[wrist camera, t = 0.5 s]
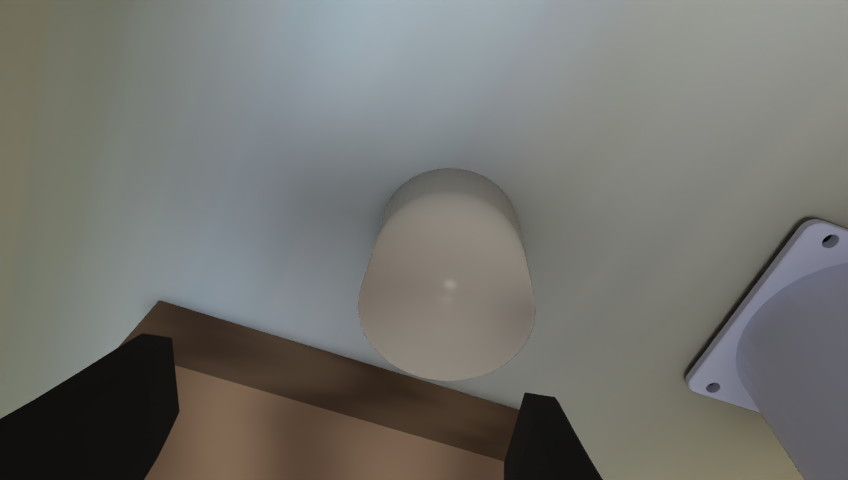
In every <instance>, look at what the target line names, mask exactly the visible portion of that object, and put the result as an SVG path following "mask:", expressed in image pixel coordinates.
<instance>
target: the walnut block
mask: <svg viewBox="0 0 848 480" xmlns="http://www.w3.org/2000/svg"><path fill="white" fill-rule="evenodd" d="M142 333H145V334H151V335H158V336H164V337H170V338H172V343H173V352H174V362H175V372H176V381H177V391H178V401H179V410H180V412H179V414H178V416H177V418H176V421H175V423H174V425H173V427H172V429H171V431H170V434H169V436H168V438H167V440H166V442H165V444H164V446H163V448H162V450H161V452H160V454H159V456H158V458H157V460H156V461H155V463H154V465H153V466H152V468H151V470H150V471H149V473H148V474H147V476H146V477H145V479H144V480H504V461H505V457H506V454H507V451H508V447H509V444H510V441H511V437H512V434H513V431H514V427H515V424H516V421H517V417H518V414H519V411H520V410H517V409H514V408H511V407H507V406H504V405H501V404H498V403H494V402H491V401H488V400H485V399H481V398H478V397H475V396H471V395H468V394H465V393H462V392H458V391H455V390H452V389H448V388H445V387H442V386H439V385H435V384H432V383H429V382H425V381H422V380H419V379H416V378H412V377H409V376H406V375H402V374H399V373H396V372H393V371H389V370H386V369H383V368H379V367H376V366H373V365H370V364H366V363H363V362H360V361H357V360H353V359H350V358H347V357H343V356H340V355H337V354H334V353H330V352H327V351H324V350H320V349H317V348H314V347H311V346H307V345H304V344H301V343H297V342H294V341H291V340H288V339H284V338H281V337H278V336H274V335H271V334H268V333H265V332H261V331H258V330H255V329H251V328H248V327H245V326H242V325H238V324H235V323H232V322H229V321H225V320H222V319H219V318H215V317H212V316H209V315H206V314H202V313H199V312H196V311H192V310H189V309H186V308H183V307H179V306H176V305H173V304H169V303H166V302H163V301H160V300H159V301H158V302H157V304H156V305H155V306H154V307H153V308H152V309H151V311H150V312H149V313H148V314H147V315H146V316H145V317H144V319H143V320H142V321H141V322H140V323H139V324H138V325H137V327H136V328H135V329H134V330H133V331H132V332H131V333H130V335H129V336H128V337H127V338H126V339H125V340H124V341H123V343H122V344H121V345H120V346H122V345H123V344H125V343H127V342H128V341H130V340H131V339H133V338H135V337H137V336H138V335H140V334H142ZM120 346H119V347H120ZM119 347H118V348H119Z"/></svg>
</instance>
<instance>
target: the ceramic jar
mask: <svg viewBox="0 0 848 480" xmlns="http://www.w3.org/2000/svg"><path fill="white" fill-rule="evenodd" d="M358 311H359V318H360V323H361V326H362V328H363V331H364V333H365V335H366V337H367V339H368V340H369V342H370V343H371V345H372V346H373V347H374V349H375V350H376V351H377V352H378V353H379V354H380V355H381V356H382V357H383V358H384V359H386V360H387V361H388V362H389V363H391V364H393V365H394V366H396V367H397V368H399V369H401V370H403V371H405V372H407V373H410V374H412V375H415V376H418V377H422V378H426V379H431V380H438V381H460V380H467V379H472V378H476V377H480V376H483V375H485V374H488V373H490V372H493V371H494V370H496V369H498V368H500V367H502V366H503V365H505V364H506V363H508V362H509V361H510V360H511V359H512V358H513V357H515V356H516V355H517V354H518V352H519V351H520V350H521V349H522V348H523V346H524V345H525V343H526V342H527V340H528V338H529V336H530V334H531V332H532V329H533V325H534V321H535V313H536V310H535V299H534V294H533V289H532V285H531V280H530V275H529V270H528V265H527V261H526V256H525V251H524V246H523V241H522V237H521V232H520V227H519V222H518V218H517V214H516V211H515V208H514V206H513V204H512V203H511V201H510V199H509V198H508V196H507V195H506V194H505V192H504V191H503V190H502V189H501V188H500V187H499V186H497V185H496V184H495V183H493V182H492V181H491V180H489V179H487V178H486V177H484V176H482V175H479V174H477V173H474V172H471V171H467V170H462V169H449V168H446V169H437V170H432V171H428V172H425V173H422V174H420V175H418V176H416V177H414V178H412V179H410V180H409V181H407V182H406V183H405V184H403V185H402V186H401V187H400V188H399V189H398V190H397V191H396V192H395V193H394V195H393V196H392V197H391V199H390V201H389V202H388V204H387V206H386V209H385V211H384V214H383V217H382V220H381V224H380V227H379V230H378V234H377V237H376V240H375V243H374V247H373V250H372V253H371V257H370V260H369V263H368V266H367V270H366V273H365V276H364V280H363V283H362V286H361V290H360V294H359V301H358Z"/></svg>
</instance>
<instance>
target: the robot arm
mask: <svg viewBox="0 0 848 480" xmlns="http://www.w3.org/2000/svg"><path fill="white" fill-rule="evenodd" d="M831 234H832V236H831V238H830V239H829V240H828V241H826V242H823V243H822V241H823V239H824V238H825V237H826V236H828V235H831ZM686 383H687V385H688V387H689V388H690V390H691V391H693V392H695V393H698V394H702V395H705V396H708V397H711V398H714V399H718V400H721V401H724V402H727V403H730V404H733V405H737V406H740V407H743V408H746V409H749V410H753V411H756V412H759V413H761V414H762V416H763V417H764V419H765V420H766V422H767V423H768V425H769V426H770V428H771V429H772V431H773V432H774V434H775V435H776V437H777V439H778V440H779V442H780V443H781V445H782V446H783V448H784V449H785V451H786V452H787V454H788V455H789V457H790V459H791V460H792V462H793V463H794V465H795V466H796V468H797V469H798V471H799V472H800V474H801V475H802V477H803V478H804V480H848V229H846V228H843V227H840V226H837V225H835V224H832V223H829V222H826V221H823V220H820V219H812V220H808V221H806V222H805V223H803V224H802V225H801V226H800V227H799V228H798V229H797V230H796V232H795V233H794V234H793V236H792V237H791V238H790V240H789V241H788V242H787V244H786V245H785V246H784V248H783V249H782V250H781V252H780V253H779V254H778V256H777V257H776V258H775V259H774V261H773V262H772V263H771V265H770V266H769V267H768V269H767V270H766V271H765V273H764V274H763V275H762V277H761V278H760V279H759V281H758V282H757V283H756V285H755V286H754V287H753V289H752V290H751V291H750V293H749V294H748V295H747V296H746V298H745V299H744V300H743V302H742V303H741V304H740V306H739V307H738V308H737V310H736V311H735V312H734V314H733V315H732V316H731V318H730V319H729V320H728V322H727V323H726V324H725V326H724V327H723V328H722V329H721V331H720V332H719V333H718V335H717V336H716V337H715V339H714V340H713V341H712V343H711V344H710V345H709V347H708V348H707V349H706V351H705V352H704V353H703V355H702V356H701V357H700V359H699V360H698V361H697V362H696V364H695V365H694V366H693V368H692V369H691V370H690V372H689V373H688V374H687V376H686ZM711 383H714V384H713V385H710V386H708V385H709V384H711ZM179 412H180V410H179V401H178V391H177V381H176V372H175V362H174V352H173V343H172V338H170V337H164V336H158V335H151V334H145V333H142V334H140V335H138V336H137V337H135V338H133V339H131V340H130V341H128V342H127V343H125V344H123V345H122V346H120V347H119V348H117V349H115V350H114V351H112V352H111V353H109V354H107V355H106V356H104V357H103V358H101V359H99V360H98V361H96V362H95V363H93V364H92V365H90V366H88V367H87V368H85V369H84V370H82V371H80V372H79V373H77V374H76V375H74V376H72V377H71V378H69V379H67V380H66V381H64V382H62V383H61V384H59V385H58V386H56V387H54V388H53V389H51V390H49V391H48V392H46V393H45V394H43V395H41V396H40V397H38V398H36V399H35V400H33V401H31V402H29V403H28V404H26V405H24V406H22V407H21V408H19V409H17V410H15V411H13V412H12V413H10V414H8V415H6V416H5V417H3V418H1V419H0V480H144V479H145V477H146V476H147V474H148V473H149V471H150V470H151V468H152V466H153V465H154V463H155V461H156V460H157V458H158V456H159V454H160V452H161V450H162V448H163V446H164V444H165V442H166V440H167V438H168V436H169V434H170V431H171V429H172V427H173V425H174V423H175V421H176V418H177V416H178V414H179ZM504 480H603V479H602V478H601V476H600V475H599V473H598V471H597V470H596V468H595V466H594V465H593V463H592V461H591V460H590V458H589V456H588V454H587V453H586V451H585V449H584V447H583V446H582V444H581V442H580V440H579V439H578V437H577V435H576V433H575V432H574V430H573V428H572V426H571V424H570V422H569V421H568V419H567V417H566V415H565V413H564V411H563V410H562V408H561V406H560V404H559V402H558V401H557V399H556V398H555V397H550V396H544V395H537V394H531V393H525V394H524V397H523V401H522V404H521V407H520V411H519V414H518V417H517V421H516V424H515V427H514V431H513V434H512V437H511V441H510V444H509V447H508V451H507V454H506V457H505V461H504Z"/></svg>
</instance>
